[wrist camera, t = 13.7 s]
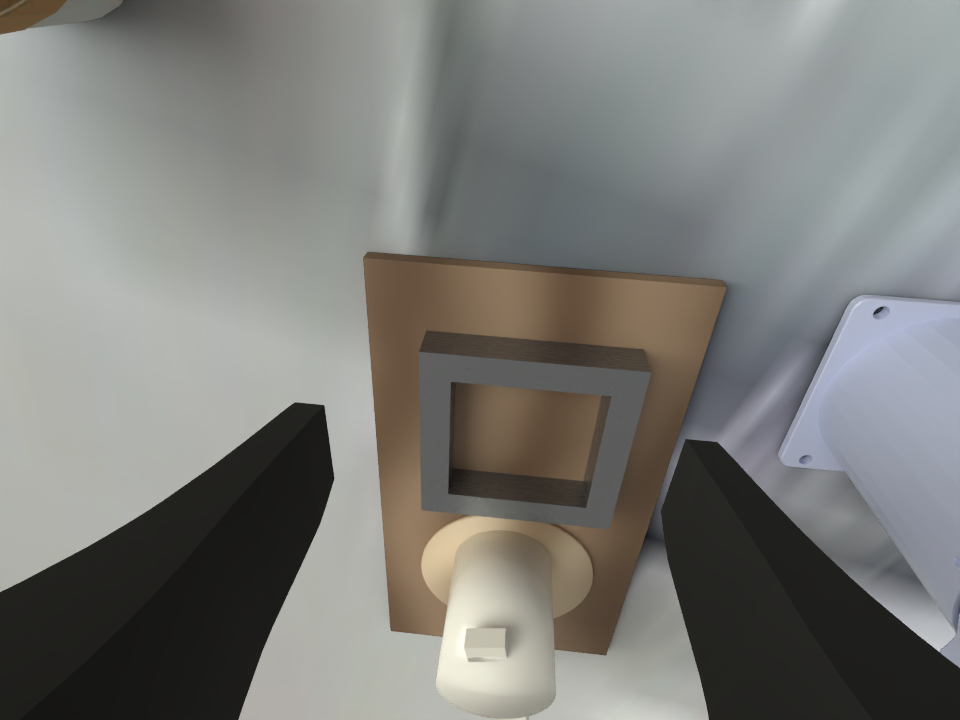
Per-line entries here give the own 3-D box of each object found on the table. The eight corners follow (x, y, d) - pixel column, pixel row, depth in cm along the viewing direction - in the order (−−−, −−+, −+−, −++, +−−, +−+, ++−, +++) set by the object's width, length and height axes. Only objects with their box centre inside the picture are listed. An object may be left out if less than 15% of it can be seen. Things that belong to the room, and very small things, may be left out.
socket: (643, 349, 20) (651, 372, 19) (605, 502, 25) (609, 529, 24) (426, 330, 21) (418, 352, 19) (427, 484, 25) (421, 510, 24)
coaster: (606, 521, 26) (607, 526, 25) (578, 627, 30) (579, 632, 30) (421, 502, 26) (420, 507, 26) (422, 610, 31) (421, 615, 31)
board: (721, 280, 19) (726, 286, 19) (604, 645, 32) (606, 655, 32) (367, 251, 20) (363, 257, 19) (392, 621, 33) (390, 630, 32)
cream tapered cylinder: (444, 523, 26) (422, 648, 21) (546, 519, 25) (549, 648, 20) (474, 632, 31) (462, 756, 26) (561, 632, 30) (566, 759, 25)
